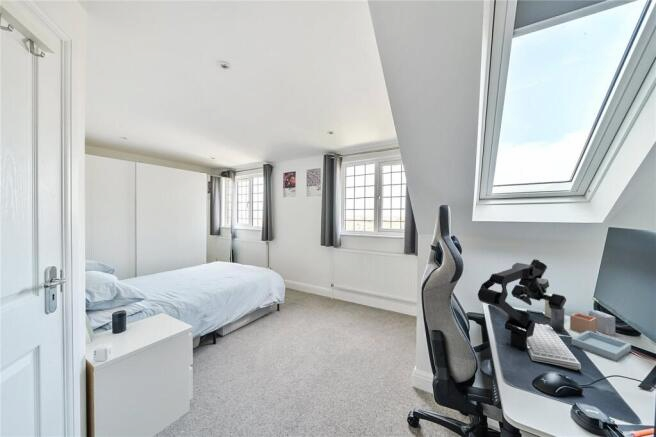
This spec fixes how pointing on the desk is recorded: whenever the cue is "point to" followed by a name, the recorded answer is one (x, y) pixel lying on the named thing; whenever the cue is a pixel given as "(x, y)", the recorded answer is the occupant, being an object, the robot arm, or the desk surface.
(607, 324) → the medicine box
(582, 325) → the orange open box
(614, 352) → the trough
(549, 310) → the skincare box
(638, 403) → the desk surface
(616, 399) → the desk surface
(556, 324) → the block
